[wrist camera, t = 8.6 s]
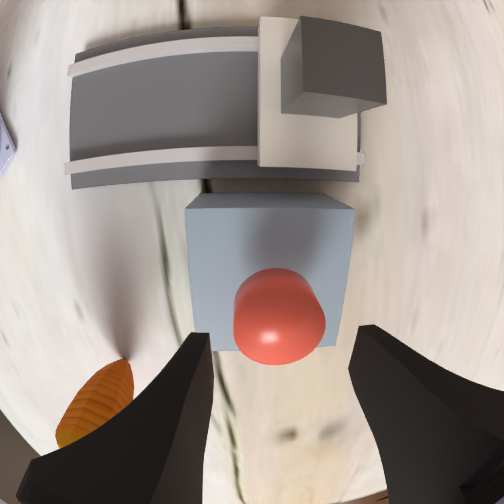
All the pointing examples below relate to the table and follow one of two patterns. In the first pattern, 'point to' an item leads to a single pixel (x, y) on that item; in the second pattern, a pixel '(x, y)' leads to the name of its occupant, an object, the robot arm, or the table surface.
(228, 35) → the rail board
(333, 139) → the carriage
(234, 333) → the button
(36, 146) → the table surface
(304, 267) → the blue-grey block
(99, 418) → the carrot
